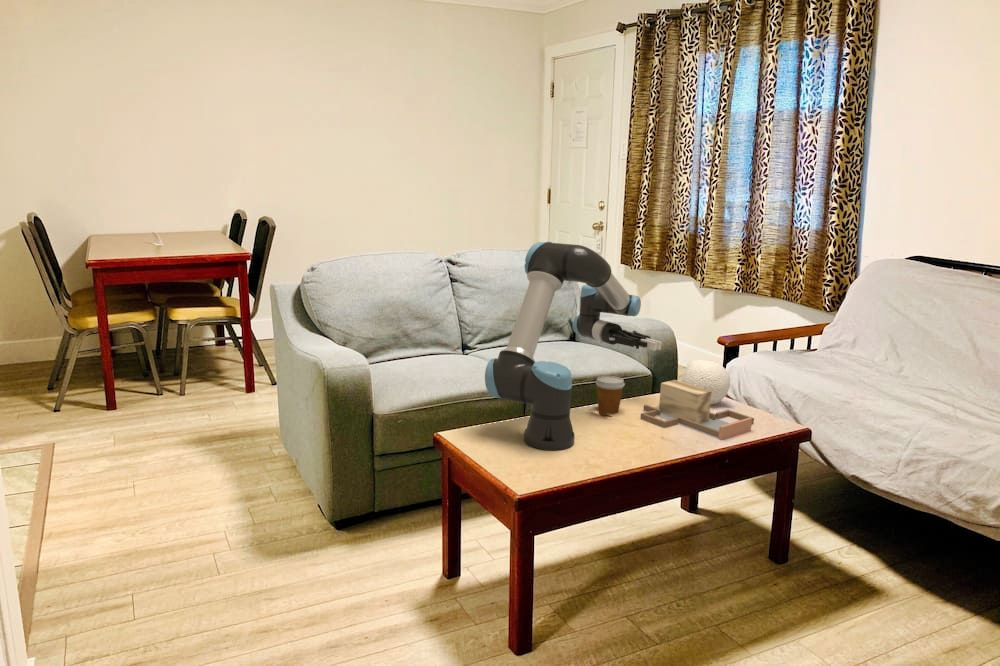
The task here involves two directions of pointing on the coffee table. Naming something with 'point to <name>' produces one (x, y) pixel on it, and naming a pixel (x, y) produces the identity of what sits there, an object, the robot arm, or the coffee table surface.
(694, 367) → the decorative orb
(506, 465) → the coffee table surface
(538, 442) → the robot arm
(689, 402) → the maple block
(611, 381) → the disposable coffee cup
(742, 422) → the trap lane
